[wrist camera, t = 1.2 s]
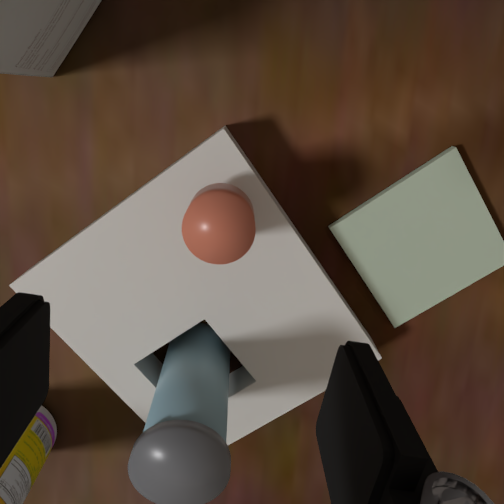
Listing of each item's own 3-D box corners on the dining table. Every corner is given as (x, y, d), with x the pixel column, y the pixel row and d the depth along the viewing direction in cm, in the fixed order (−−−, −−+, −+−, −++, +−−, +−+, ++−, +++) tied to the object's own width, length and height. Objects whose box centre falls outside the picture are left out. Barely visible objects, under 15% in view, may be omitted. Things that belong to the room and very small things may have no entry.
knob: (264, 212, 28) (269, 238, 23) (216, 244, 29) (211, 277, 24) (229, 162, 27) (226, 179, 22) (180, 198, 28) (166, 221, 23)
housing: (370, 336, 34) (382, 358, 31) (193, 439, 37) (189, 467, 35) (225, 125, 28) (223, 128, 25) (29, 268, 31) (8, 285, 29)
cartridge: (247, 356, 35) (250, 479, 24) (193, 389, 36) (171, 522, 25) (206, 307, 33) (188, 413, 22) (150, 343, 34) (106, 462, 23)
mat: (508, 257, 32) (513, 259, 31) (392, 324, 34) (394, 328, 33) (451, 146, 29) (456, 147, 29) (327, 226, 31) (329, 228, 30)
